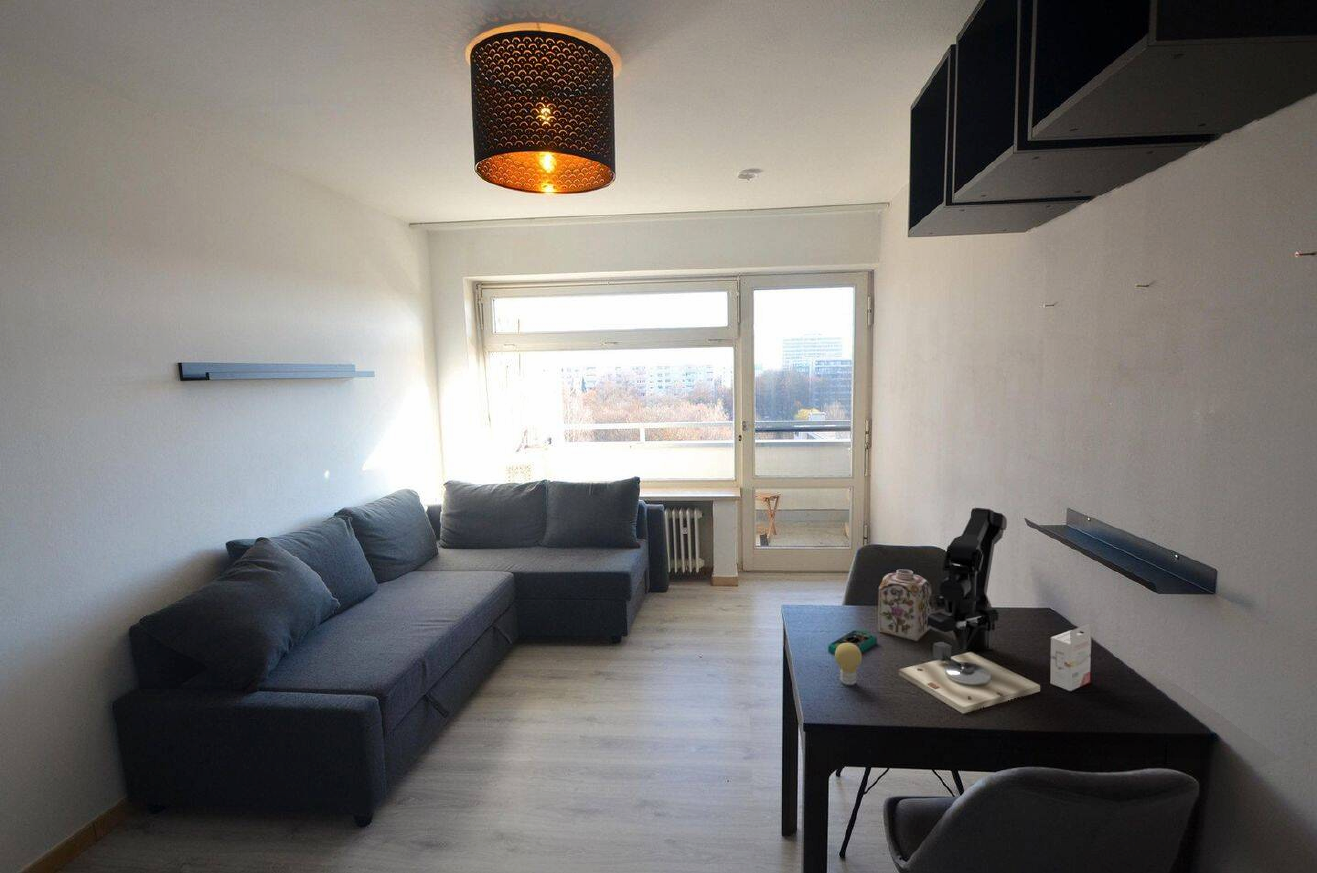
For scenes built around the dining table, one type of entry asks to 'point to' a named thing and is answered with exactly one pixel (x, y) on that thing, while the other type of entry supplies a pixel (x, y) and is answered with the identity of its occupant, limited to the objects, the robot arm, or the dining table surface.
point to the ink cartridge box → (1071, 658)
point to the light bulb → (848, 661)
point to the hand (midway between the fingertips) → (962, 649)
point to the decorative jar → (904, 605)
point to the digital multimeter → (855, 640)
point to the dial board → (966, 696)
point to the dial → (960, 667)
